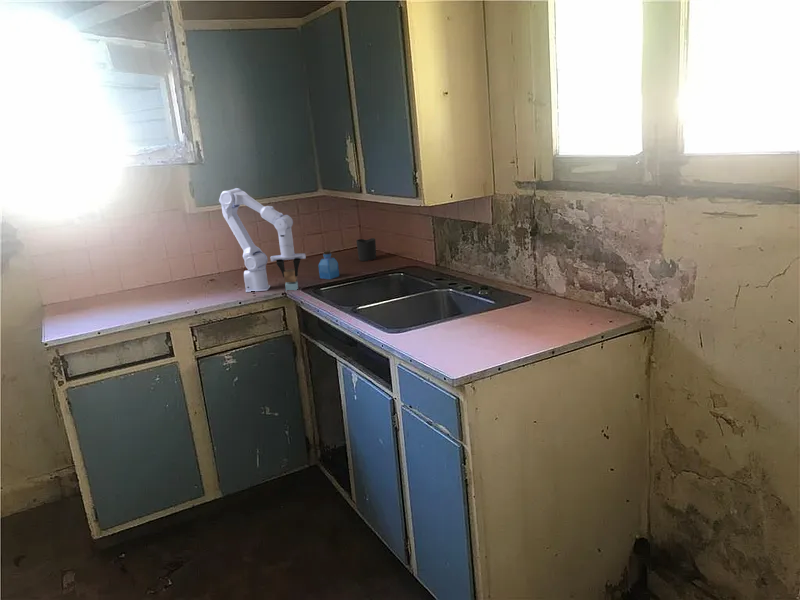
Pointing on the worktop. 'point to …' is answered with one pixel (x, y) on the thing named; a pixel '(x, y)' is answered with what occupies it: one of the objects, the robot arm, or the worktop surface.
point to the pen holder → (366, 249)
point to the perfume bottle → (328, 266)
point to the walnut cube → (290, 275)
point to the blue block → (291, 285)
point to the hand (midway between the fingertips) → (290, 276)
